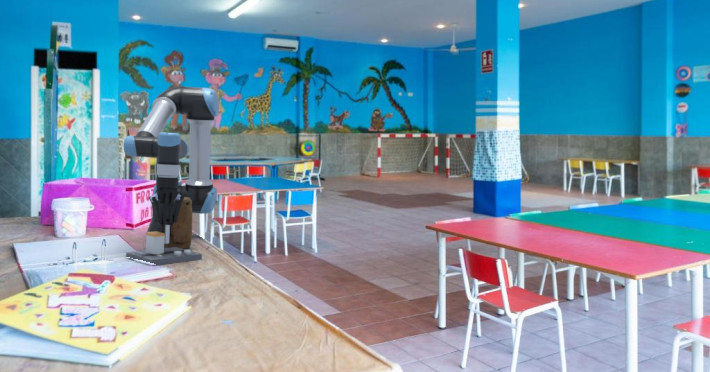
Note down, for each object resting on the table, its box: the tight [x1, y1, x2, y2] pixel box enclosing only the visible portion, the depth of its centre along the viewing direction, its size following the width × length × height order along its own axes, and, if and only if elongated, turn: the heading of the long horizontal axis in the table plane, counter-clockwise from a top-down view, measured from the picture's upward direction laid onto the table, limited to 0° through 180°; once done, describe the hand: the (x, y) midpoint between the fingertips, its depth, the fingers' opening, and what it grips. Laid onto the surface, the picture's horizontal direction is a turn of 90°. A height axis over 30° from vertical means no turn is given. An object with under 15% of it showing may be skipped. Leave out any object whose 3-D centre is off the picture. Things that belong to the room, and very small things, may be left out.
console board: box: [125, 247, 203, 266], centre depth 208 cm, size 20×16×4 cm
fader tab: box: [145, 231, 165, 254], centre depth 205 cm, size 4×5×7 cm
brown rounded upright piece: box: [164, 197, 193, 250], centre depth 228 cm, size 11×8×20 cm
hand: (165, 242), depth 208 cm, fingers closed
